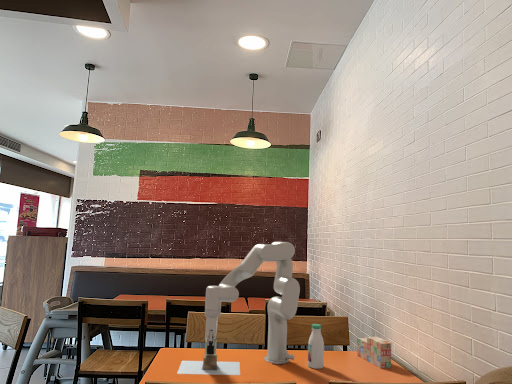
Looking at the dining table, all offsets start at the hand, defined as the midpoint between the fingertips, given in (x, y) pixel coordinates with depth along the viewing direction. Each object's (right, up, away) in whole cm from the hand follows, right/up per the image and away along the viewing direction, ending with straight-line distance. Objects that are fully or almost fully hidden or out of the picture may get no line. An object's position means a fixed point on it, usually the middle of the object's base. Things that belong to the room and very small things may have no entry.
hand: (210, 352), depth 182 cm
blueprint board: (0, -8, -1) cm, 7 cm away
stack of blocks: (+83, -14, +21) cm, 86 cm away
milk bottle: (+51, -11, +9) cm, 52 cm away
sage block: (0, 0, 0) cm, 0 cm away
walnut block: (0, -7, -1) cm, 7 cm away
